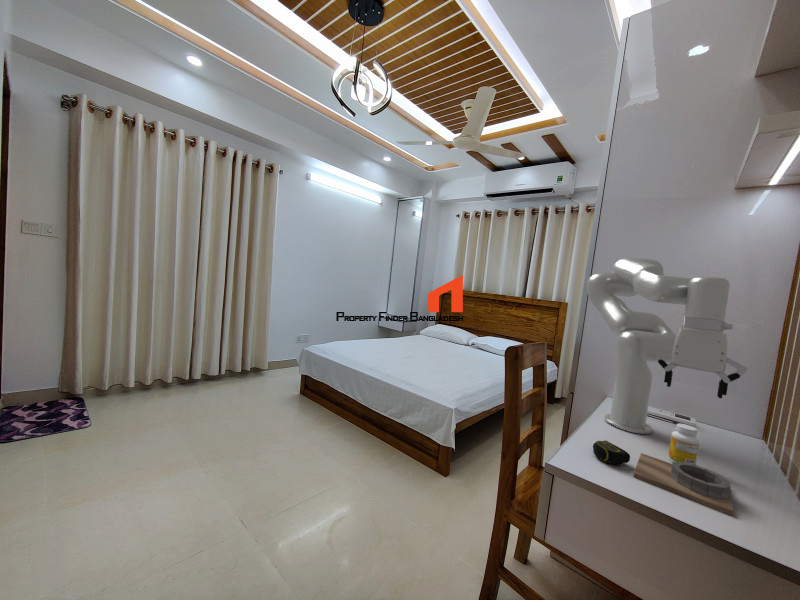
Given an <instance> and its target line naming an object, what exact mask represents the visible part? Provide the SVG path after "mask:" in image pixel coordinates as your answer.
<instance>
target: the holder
mask: <svg viewBox="0 0 800 600" xmlns="http://www.w3.org/2000/svg"><path fill="white" fill-rule="evenodd" d="M633 478H635V479H638V480H641V481H643V482H645V483H648V484H650V485H653V486H655V487H658V488H660V489H663V490H666V491H668V492H671V493H672V494H676V495H678V496H681V497H684V498H686V499H688V500H691V501H693V502H695V503H699V504H700V505H703V506H706V507H708V508H711V509H713V510H716V511H718V512H721V513H723V514H726V515H728V516H730V517H733V515H734V507H733V502H732V499H731V493H730V492H731V488H732V487H731V483H730V481H729V480H727V479H726V478H725V477H724V476H722V475H720V474H718V473H717V472H715V471H713V470H710V469H708V468H706V467H702V466H699V465H697V464H696V465H694V464H690V463H685V462H672V463H671V462H668V461H665V460H662V459H659V458H656V457H653V456H650V455H648V454H645V453H642V452H641V453H640V455H639V458H638V460H637V463H636V466H635V468H634V471H633Z"/></svg>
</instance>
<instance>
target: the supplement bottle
mask: <svg viewBox="0 0 800 600" xmlns="http://www.w3.org/2000/svg"><path fill="white" fill-rule="evenodd" d="M697 435H698V428H696V427H694V426H692V425H688V424H684V423H677V424H676V427H675V430H674V431H672V432H671V437H670V443H669V448H668V449H669V450H668V455H667V456H668V459H669V460H670V461H671V462H672V463H673V462H685V463H690V464H694V465H697V460H698V455H699V447H700V439H699V438H698V437H697Z"/></svg>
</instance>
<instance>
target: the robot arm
mask: <svg viewBox="0 0 800 600" xmlns="http://www.w3.org/2000/svg"><path fill="white" fill-rule="evenodd" d="M664 274H665V273H664V267H663V265H662V264H661V262H659V261H658V260H655V259H649V258H639V257H624V258H620V259H619V260H617V261H615V263H614V264H613V266H612V272H599V273H598V272H597V273H594V274H592V275H591V276H590V277H589V278H588V280H587V282H586V292H587V297H588V299H589V301H590V302H591V304H592V305H593V306H594V307H595V309H596V310H597V311H598V312H599V313H600V315H601V317H602V318H603V320H604V321H605V323H606V324H607V326H608V327H609V328H608V329H610V331H611V332H612V333H613V334H614V335H615V336H617V339H616V354H617V355H616V357H617V358H616V363H617V364H616V370H615V371H616V372H615V379H614V386H613V387H614V388H613V394H612V401H611V409H610V413H608V414H605V415H604V417H603V418H605V419H604V421H605V420H606V421H607V422H608V424H609V423H610V424H609V425H611V424H612V425H614V426H613V427H615V426H616V427H615V428H617V427H618V428H617V429H619V428H620V429H619V430H622V429H623V431H625V430H626V431H627V432H630V433H632V434H633V433H634V434H638V435H639V434H641V435H648V434H651V432H652V428H651V426H649V425H648V424H647V419H648V418H647V417H648V410H649V405H650V404H649V403H650V396H651V390H652V384H653V383H652V381H653V373H652V371H651V369H650V366H649V365H648V362H652V363H658V364H659V366H661V368H663V369H664V371H665V374H664V379H663V382H664V383H667V384H666V387H668V388H670V387H671V386H672V380H673V369H674V368H676V367H680V368H686V369H691V370H696V371H702V372H708V373H713V374H716V375H718V376H719V378H720V380H718V389H717V395H716V396H717V398H719V399H723V396H727V393H728V385H729V384H730V383H731V382H734V381H737V380H738V379H739V378H741V377H742V376H743V375H744V374H745V373H746V372H747V371H748V368H747V367H746V366H745V365H743V364H741V363H740V362H737V361H736V360H734V359H732V358H730V357H728V335H727V333H724V331H725V330H726V331H727V330H731V331H732V329H733V324H731V323H727V322H725V320H726V313H727V307H728V300H729V293H730V287H731V286H730V284H731V283H730V281H729V280H728V279H726V278H725V277H724V278H722V277H716V276H715V277H714V276H696V277H692V278H691V277H682V276H674V275H673V276H671V275H664ZM637 295H638V296H640V297H642V298H644V299H646V300H649V301H650V302H651V301H652V302H656V303H664V304H672V305H682V306H684V314H683V321H682V327H679V328H678V329H677V332H676V334H675V332H674V331H673V330H672V329H671V328H670V327H669V326H668V325H667V323H666V322H665V321H664V320H663V319H662V318H661V317H660V316H658V315H657V314H654V313H649V312H643V311H635V310H632V309H630V308H629V307H628V306H627V304H626V303H625V301H623V300H622V299H621V298H619V297H630V298H631V297H635V296H637ZM617 296H618V297H617ZM727 364H728V365H730V366H732V367H733V368H735V369H736V370H735V371H734V372H732V373H730V374H728V375H727V374H726V373H725V371H726V369H727ZM606 421H605V422H606ZM607 422H606V423H607ZM612 425H611V426H612Z"/></svg>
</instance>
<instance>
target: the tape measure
mask: <svg viewBox="0 0 800 600" xmlns="http://www.w3.org/2000/svg"><path fill="white" fill-rule="evenodd" d="M592 450H593V455H595V457H596V458H598V459H599V460H601V461H603V462H606V463H607V464H611V465H616V466H621V465H623V464H627V463H629V462H630V460H631V455H630V453H629V452H627V451H626V450H624V449H623V448H621V447H619V446H617V445H616V444H614V443H612V442H610V441H608V440H596V441H595V442H594V443H593V445H592Z"/></svg>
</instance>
